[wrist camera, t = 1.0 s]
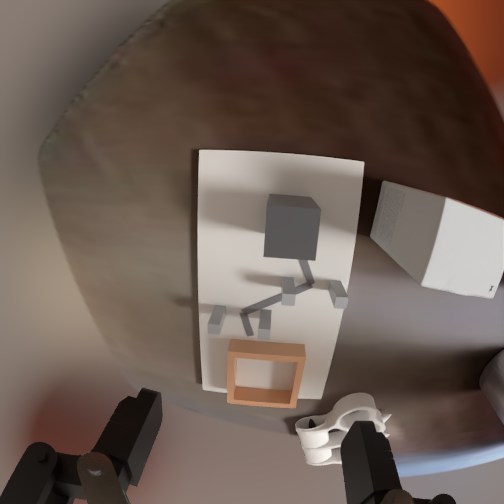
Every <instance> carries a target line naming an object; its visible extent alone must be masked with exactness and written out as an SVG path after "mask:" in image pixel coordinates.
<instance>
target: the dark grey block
mask: <svg viewBox="0 0 504 504" xmlns="http://www.w3.org/2000/svg"><path fill="white" fill-rule="evenodd" d="M320 216H321V208H320V207H319V206H318V205H317V204H316V202H315V201H314V200H313V199H312V198H311V197H305V196H293V195H281V194H269V198H268V202H267V209H266V224H265V240H264V255H263V257H270V258H284V259H297V260H311V261H315V260H316V252H317V243H318V235H319V226H320Z"/></svg>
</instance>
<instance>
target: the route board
mask: <svg viewBox="0 0 504 504" xmlns="http://www.w3.org/2000/svg"><path fill="white" fill-rule="evenodd" d="M363 171H364V162H361V161H354V160H347V159H339V158H330V157H321V156H311V155H300V154H288V153H274V152H257V151H234V150H199V173H198V302H199V329H200V351H201V368H202V384H203V390H209V391H216V392H224V393H227V351H228V347H229V343H230V339H241V340H251V341H263V342H276V343H292V344H305V352H306V360H305V365H304V370H303V375H302V380H301V385H300V389H299V394H298V399H321V398H322V394H323V391H324V387H325V384H326V380H327V376H328V373H329V369H330V365H331V361H332V357H333V353H334V349H335V345H336V340H337V336H338V332H339V327H340V323H341V318H342V313H343V309H346V308H347V303H348V295H347V288H348V283H349V277H350V271H351V265H352V259H353V253H354V247H355V240H356V233H357V225H358V218H359V210H360V201H361V192H362V182H363ZM269 194H281V195H293V196H305V197H311V198H312V199H313V200H314V201H315V202H316V204H317V205H318V206H319V207H320V208H321V216H320V226H319V235H318V243H317V252H316V260H315V261H311V260H297V259H284V258H270V257H263V255H264V240H265V224H266V209H267V202H268V198H269ZM294 364H295V362H282V361H268V360H256V359H245V358H237V373H236V386H238V387H248V388H259V389H272V390H289V391H290V386H291V381H292V375H293V369H294Z"/></svg>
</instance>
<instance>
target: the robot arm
mask: <svg viewBox="0 0 504 504" xmlns="http://www.w3.org/2000/svg"><path fill="white" fill-rule="evenodd" d="M479 386H480V388H481V389H482V391H483V392H484V394H485V395H486V397H487V398H488V400H489V402H490V403H491V405H492V406H493V408H494V410H495V411H496V413H497V414H498V416H499V418H500V419H501V421H502V423H503V424H504V350H502V351H501V352H499V353H498V354H497V355H496V356H495V357H494V358H493V359H492V360H491V361H490V362H489V363H488V364H487V366H486V367H485V369H484V370H483V372H482V374H481V376H480V380H479ZM161 422H162V400H161V393H160V392H157V391H153V390H150V389H146V388H142V389H141V391H140V392H139V394H138V396H137V398H134V397H131V396H128V397H127V398H125V399H124V400H122V401H121V402H120V403H119V404H118V406H117V408H116V409H115V411H114V414H113V415H112V416H111V418H110V421H109V422H108V423H107V425H106V427H105V429H104V431H103V432H102V434H101V436H100V438H99V440H98V441H97V443H96V445H95V447H94V448H93V449H92V450H91V451H90V452H87V453H85V454H83V455H78V456H77V455H69V454H64V453H58V452H55V450H54V449H53V448H52V447H51V446H50V445H48V444H46V443H43V442H36V443H33V444H31V445H29V446H28V448H27V449H26V451H25V453H24V454H23V456H22V458H21V459H20V461H19V463H18V465H17V466H16V468H15V470H14V472H13V474H12V475H11V477H10V479H9V481H8V483H7V485H6V487H5V489H4V490H3V492H2V495H1V496H0V504H73V501H74V499H75V498H78V499H84V500H87V503H88V504H131V503H130V501H129V499H128V496H127V494H126V491H127V489H128V486H129V484H131V485H134V486H137V485H138V482H139V480H140V477H141V475H142V472H143V469H144V467H145V464H146V462H147V459H148V456H149V454H150V452H151V449H152V446H153V444H154V441H155V439H156V436H157V434H158V431H159V429H160V426H161ZM340 454H341V461H342V468H343V475H344V482H345V490H346V498H347V504H456V502H455V500H454V499H453V497H451V496H450V495H447V494H440V495H437V496H436V497H434V498H433V499H432V500H429V499H419V498H413V497H412V496H411V494H410V493H409V492H407V491H405V490H403V489H402V487H401V484H400V480H399V476H398V472H397V469H396V465H395V461H394V460H393V454H392V452H391V447H390V444H389V441H388V439H387V438H386V437H385V435H384V434H383V433H382V432H377V431H376V427H375V424H374V422H373V421H355V422H354V423H353V424H352V426H351V428H350V429H349V431H348V432H347V434H346V436H345V437H344V439H343V440H342V443H341V447H340Z"/></svg>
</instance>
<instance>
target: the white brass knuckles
mask: <svg viewBox="0 0 504 504" xmlns="http://www.w3.org/2000/svg"><path fill="white" fill-rule="evenodd" d="M357 410H359V411H357ZM353 411H356V412H354V413H352V414H349V413H351V412H353ZM391 415H392V414H381V413H380V411H379V410H378V409H376V406H375V402H374V399H373V397H372V396H371V395H369V394H367V393H353V394H350V395H347V396H345V397H343V398H341V399H340V400H339V401H338V402H337V403H336V404H335V405H334V407H333V410H332V411H330V412H329V413H327V414H325V415H320V416H310V417H304V418H302V419H300V420H298V421H297V422H296V423H295V427H296V432H297V433H298V436H299V439H300V443H301V448H302V449H303V452H304V455H305V459H306V463H308V464H310V465H327V464H333V463H338V464H341V465H342V461H341V454H340V447H341V443H342V440H343V439H344V437H345V436H346V434H347V432H348V431H349V429H350V428H351V426H352V424H353V423H354V422H355V421H373V422H374V424H375V427H376V431H377V432H382V433H383V434H384V435H385V437H387V436H389V435H390V434H387V433H384V430H385V429H386V428H385V424H384V422H385V421H386V420H387V419H388V418H389V417H390V416H391ZM309 419H312V420H313V421H314V423H315V425H316V427H315V428H310V429H309ZM335 428H337V429H340V430H341V431H336V432H332V433H328V431H330V430H331V429H335Z"/></svg>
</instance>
